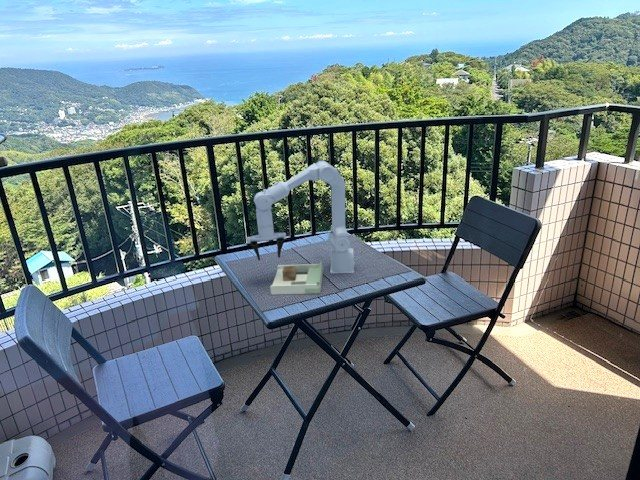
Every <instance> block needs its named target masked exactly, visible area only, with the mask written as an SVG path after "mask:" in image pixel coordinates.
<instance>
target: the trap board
mask: <svg viewBox="0 0 640 480" xmlns="http://www.w3.org/2000/svg"><path fill="white" fill-rule="evenodd" d="M284 266H296V279H295V281H283V273H282V271H283V268H284ZM323 267H324V266H323V261H319V263H310V264H309V263H307V264H305V263H304V264H280V265H279V264H278V265H277V271H276V273H275V276H274V279H273V281H272V284H271V285H270V286H269V287H270V288H269V289H270V295H275V296H276V295H304V294H306V295H310V294H313V295H314V294H321V292H322V291H321V290H322V281H323V276H324V275H323V274H324V268H323Z"/></svg>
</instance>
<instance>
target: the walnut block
mask: <svg viewBox="0 0 640 480" xmlns="http://www.w3.org/2000/svg"><path fill="white" fill-rule="evenodd" d="M282 273H283V281H295V279H296V266H284V268H283V271H282Z"/></svg>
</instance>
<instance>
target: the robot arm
mask: <svg viewBox="0 0 640 480" xmlns="http://www.w3.org/2000/svg"><path fill="white" fill-rule="evenodd" d="M319 179H320V180H321V182H324V183H326V184H328V185H330V186H331V226H330V232H329V234H328V241H329V243H330V262H331V264H330V271H329V272H330V273H329V274H332V275H333V274H335V275H336V274H355V266H356V261H355V258H354V257H355V254H354V252H355V251H354V248H352V247H350V246H351V242H350V241H351V240H350V239H349V237H348V236H349V235H348V231H347V228H346V181H345V180H344V178H343V177H342V175H341V173H340V172H339V170H338V169H337V168H335V166H333V165H331V164H330V163H328V162H327V161H325V160H319V161H317V162H316V163H312V164H311V165H309V166H308V167H306V168H305V169H303V170H302V171H300V172H298V173H297V174H296V175H294V176H293V177H292V178H291V177H290V179H288V180H286V181H283V180H282V181H281V180H280V181H275V182H274V183H273V185H272V186H269V187H267V189H266V188H264V189H263V190H262V191H259V192H257V193H256V194H255V195H254V197H253V203H254V205H255V212H256V213H255V216H256V224H257V231H258V232H257V233H258V234H256V235H252V236H247V237H246V241H247V244H250V246H251V248H252V249H253V251H254V252H255V254H256V258H257V261H261V257H260V251H259V244H258V243H259V242H268V241H273V240H276V246H277V248H276V249H277V250H276V251H277V258H281V251H282V249H283V248H282V247H283V245H284V244H285V240H286V239H287V233H286V232H275V231H274V222H273V212H272V205H273V204H275V203H277V202H279V201H281V200H283V198H285V197H287V196H289V194H290V191H291V190H293V189H295V188H297V187H299V186H301V185H302V184H304V183H306V182H308V181H315V182H319Z"/></svg>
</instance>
